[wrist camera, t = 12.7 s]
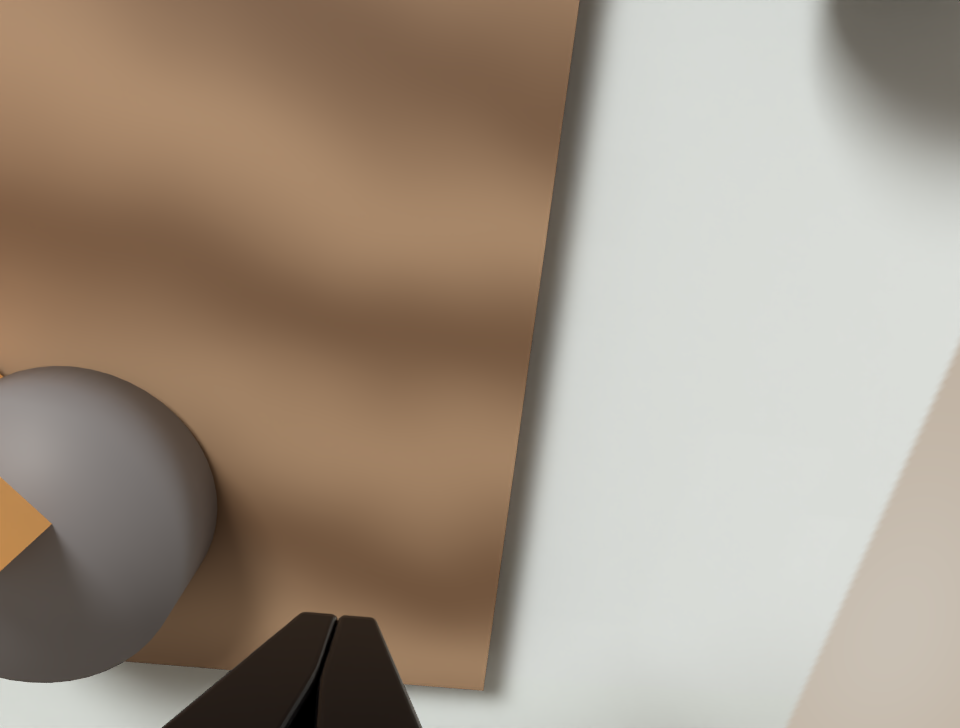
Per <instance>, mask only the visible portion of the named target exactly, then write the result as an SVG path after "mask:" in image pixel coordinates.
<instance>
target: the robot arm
mask: <svg viewBox="0 0 960 728" xmlns="http://www.w3.org/2000/svg"><path fill="white" fill-rule="evenodd" d="M162 728H422V726H421V724H420V721H419V719H418V717H417V714H416V712H415V710H414V707H413V705H412V703H411V700H410V698H409V696H408V693H407V691H406V689H405V686H404V684H403V682H402V679H401V677H400V675H399V672H398V670H397V668H396V665H395V663H394V661H393V658H392V656H391V654H390V651H389V649H388V647H387V644H386V642H385V640H384V637H383V635H382V632H381V630H380V628H379V625H378V623H377V621H376V620H375V619H374V618H372V617H363V616H351V615H343V616H341V617H340V618H339V619H337V616H335V615H334V614H328V613H316V612H302V613H300V614H299V615H297V616H296V617H295V618H294V619H292V620H291V621H290V622H289V623H288V624H286V625H285V626H284V627H283V628H282V629H280V630H279V631H278V632H277V633H276V634H274V635H273V636H272V637H271V638H269V639H268V640H267V641H266V642H265V643H263V644H262V645H261V646H260V647H259V648H257V649H256V650H255V651H254V652H253V653H251V654H250V655H249V656H248V657H247V658H245V659H244V660H243V661H242V662H241V663H239V664H238V665H237V666H236V667H234V668H233V669H232V670H231V671H230V672H228V673H227V674H226V675H225V676H224V677H222V678H221V679H220V680H219V681H218V682H216V683H215V684H214V685H213V686H212V687H210V688H209V689H208V690H207V691H206V692H204V693H203V694H202V695H201V696H199V697H198V698H197V699H196V700H195V701H193V702H192V703H191V704H190V705H189V706H187V707H186V708H185V709H184V710H183V711H181V712H180V713H179V714H178V715H177V716H175V717H174V718H173V719H172V720H171V721H169V722H168V723H167V724H166V725H164V726H163V727H162Z"/></svg>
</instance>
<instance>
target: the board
mask: <svg viewBox="0 0 960 728" xmlns="http://www.w3.org/2000/svg"><path fill="white" fill-rule="evenodd" d="M579 1H580V0H0V374H1V375H2V376H3V377H4V376H7V375H9V374H12V373H15V372H18V371H22V370H27V369H31V368H36V367H47V366H73V367H79V368H86V369H92V370H96V371H100V372H103V373H107V374H110V375H113V376H115V377H118V378H120V379H123V380H125V381H128V382H130V383H132V384H134V385H136V386H137V387H139V388H141V389H143V390H145V391H146V392H148V393H149V394H151V395H152V396H154V397H155V398H156V399H158V400H159V401H161V402H162V403H163V404H164V405H165V406H167V407H168V408H169V409H170V410H171V411H172V412H173V413H174V414H176V415H177V417H178V418H179V419H180V420H181V421H182V422H183V423H184V424H185V426H186V427H187V428H188V429H189V430H190V432H191V433H192V435H193V436H194V438H195V439H196V441H197V442H198V443H199V445H200V447H201V449H202V451H203V453H204V455H205V457H206V459H207V461H208V464H209V467H210V469H211V472H212V475H213V479H214V484H215V489H216V495H217V520H216V527H215V531H214V536H213V540H212V542H211V545H210V547H209V550H208V552H207V554H206V556H205V558H204V559H203V561H202V563H201V565H200V566H199V568H198V569H197V571H196V573H195V574H194V576H193V577H192V579H191V581H190V582H189V584H188V585H187V587H186V589H185V590H184V592H183V593H182V595H181V597H180V598H179V600H178V601H177V603H176V605H175V606H174V608H173V609H172V611H171V612H170V614H169V616H168V617H167V619H166V620H165V622H164V624H163V625H162V627H161V628H160V630H159V631H158V632H157V633H156V634H155V636H154V637H153V638H152V639H151V640H150V642H148V643H147V644H146V645H145V646H144V647H143V648H142V649H141V650H140V651H138V652H137V653H136V654H135V655H133V656H132V657H130V658H129V659H127V660H126V662H139V663H151V664H163V665H175V666H188V667H200V668H212V669H225V670H232V669H233V668H234V667H236V666H237V665H238V664H239V663H241V662H242V661H243V660H244V659H245V658H247V657H248V656H249V655H250V654H251V653H253V652H254V651H255V650H256V649H257V648H259V647H260V646H261V645H262V644H263V643H265V642H266V641H267V640H268V639H269V638H271V637H272V636H273V635H274V634H276V633H277V632H278V631H279V630H280V629H282V628H283V627H284V626H285V625H286V624H288V623H289V622H290V621H291V620H292V619H294V618H295V617H296V616H297V615H299V614H300V613H302V612H316V613H328V614H334V615H335V616H337V619H339V618H340V617H341V616H343V615H351V616H363V617H372V618H374V619H375V620H376V621H377V623H378V625H379V628H380V630H381V632H382V635H383V637H384V640H385V642H386V644H387V647H388V649H389V651H390V654H391V656H392V658H393V661H394V663H395V665H396V668H397V670H398V672H399V675H400V677H401V679H402V682H403V684H409V685H421V686H433V687H446V688H458V689H470V690H483V688H484V681H485V674H486V667H487V659H488V652H489V645H490V638H491V631H492V624H493V617H494V609H495V602H496V595H497V588H498V581H499V574H500V566H501V559H502V552H503V545H504V538H505V531H506V523H507V516H508V509H509V502H510V495H511V488H512V480H513V473H514V466H515V459H516V452H517V445H518V438H519V430H520V423H521V416H522V409H523V402H524V395H525V387H526V380H527V373H528V366H529V359H530V352H531V344H532V337H533V330H534V323H535V316H536V309H537V301H538V294H539V287H540V280H541V273H542V266H543V259H544V251H545V244H546V237H547V230H548V223H549V216H550V208H551V201H552V194H553V187H554V180H555V173H556V165H557V158H558V151H559V144H560V137H561V130H562V123H563V115H564V108H565V101H566V94H567V87H568V80H569V72H570V65H571V58H572V51H573V44H574V37H575V29H576V22H577V15H578V8H579Z"/></svg>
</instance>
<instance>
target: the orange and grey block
mask: <svg viewBox="0 0 960 728" xmlns="http://www.w3.org/2000/svg"><path fill="white" fill-rule="evenodd" d="M216 520H217V495H216V489H215V484H214V479H213V475H212V472H211V469H210V467H209V464H208V461H207V459H206V457H205V455H204V453H203V451H202V449H201V447H200V445H199V443H198V442H197V441H196V439H195V438H194V436H193V435H192V433H191V432H190V430H189V429H188V428H187V427H186V426H185V424H184V423H183V422H182V421H181V420H180V419H179V418H178V417H177V415H176V414H174V413H173V412H172V411H171V410H170V409H169V408H168V407H167V406H165V405H164V404H163V403H162V402H161V401H159V400H158V399H156V398H155V397H154V396H152V395H151V394H149V393H148V392H146V391H145V390H143V389H141V388H139V387H137V386H136V385H134V384H132V383H130V382H128V381H125V380H123V379H120V378H118V377H115V376H113V375H110V374H107V373H103V372H100V371H96V370H92V369H86V368H79V367H73V366H47V367H36V368H31V369H27V370H22V371H18V372H15V373H12V374H9V375H7V376H4V377H3V376H2V375H1V374H0V678H4V679H9V680H15V681H23V682H38V683H53V682H63V681H71V680H76V679H81V678H86V677H90V676H92V675H95V674H98V673H101V672H104V671H107V670H109V669H111V668H113V667H115V666H117V665H119V664H121V663H123V662H124V661H126V660H127V659H129V658H130V657H132V656H133V655H135V654H136V653H137V652H138V651H140V650H141V649H142V648H143V647H144V646H145V645H146V644H147V643H148V642H150V640H151V639H152V638H153V637H154V636H155V634H156V633H157V632H158V631H159V630H160V628H161V627H162V625H163V624H164V622H165V620H166V619H167V617H168V616H169V614H170V612H171V611H172V609H173V608H174V606H175V605H176V603H177V601H178V600H179V598H180V597H181V595H182V593H183V592H184V590H185V589H186V587H187V585H188V584H189V582H190V581H191V579H192V577H193V576H194V574H195V573H196V571H197V569H198V568H199V566H200V565H201V563H202V561H203V559H204V558H205V556H206V554H207V552H208V550H209V547H210V545H211V542H212V540H213V536H214V531H215V527H216Z"/></svg>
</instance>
